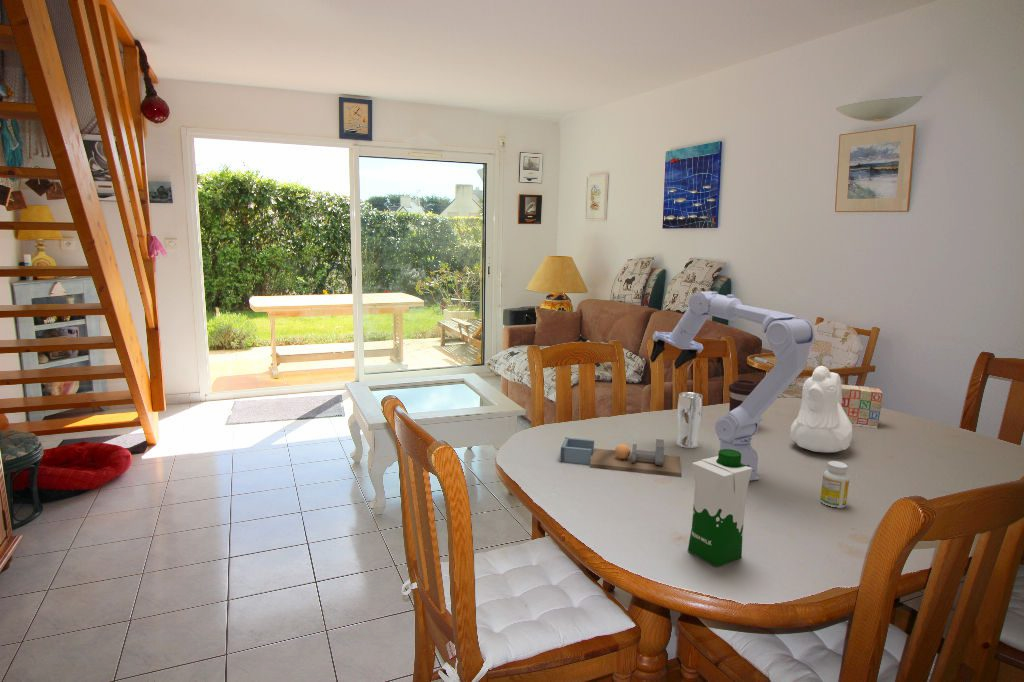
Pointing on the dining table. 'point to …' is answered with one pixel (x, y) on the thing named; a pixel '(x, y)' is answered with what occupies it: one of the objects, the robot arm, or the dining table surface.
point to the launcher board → (611, 461)
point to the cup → (577, 450)
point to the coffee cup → (740, 392)
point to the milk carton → (719, 507)
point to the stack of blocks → (862, 404)
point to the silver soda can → (689, 418)
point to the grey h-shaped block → (649, 454)
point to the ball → (622, 451)
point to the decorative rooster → (822, 415)
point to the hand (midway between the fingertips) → (663, 363)
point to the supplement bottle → (835, 485)
